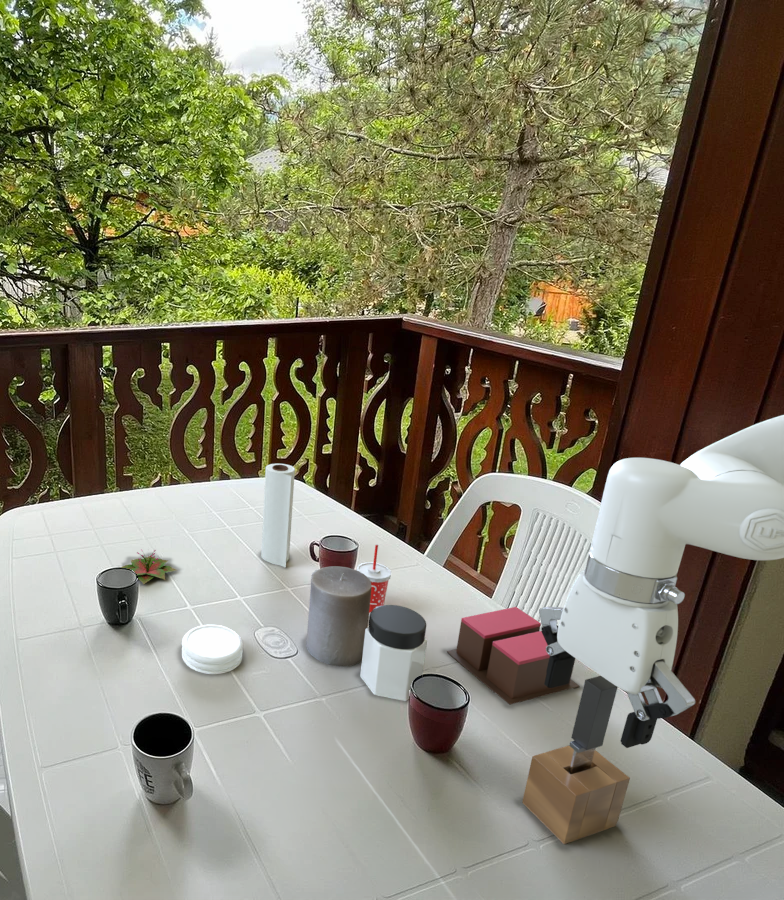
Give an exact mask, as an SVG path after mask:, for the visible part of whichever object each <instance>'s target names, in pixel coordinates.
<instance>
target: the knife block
mask: <svg viewBox="0 0 784 900" xmlns="http://www.w3.org/2000/svg"><path fill="white" fill-rule="evenodd" d="M569 745H570V744H569ZM569 745H565V746H561V747H559V748H555V749H552V750H549V751H545V752H542V753H538V754H535V755H532V757H531V761H530V766H529V770H528V775H527V779H526V784H525V787H524V788H525V789H524V792H523V797H522V804H523V805H524V806H525V807H526V808H527V809H528V810H529V811H530V812H531V813H532V814H533V815H534V816H535V817H536V818H537V819H538V820H539V822H541V824H543V825H544V826H545V827H546V828H547V829H548V830H549V831H550V832H551V833H552V834H553V835H554V836H555V837H556V838H557V839H558V840H559V842H561V843H562V845H566V844H569V843H571V842H575V841H578V840H580V839H584V838H586V837H589V836H592V835H595V834H598V833H601V832H603V831H606V830H608V829H611V828H614V827H617V826H618V823H619V819H620V815H621V811H622V809H623V805H624V801H625V797H626V793H627V790H628V787H629V783H630V781H631V778H630V777H629V776H628V775H627V774H625V772H623V771H622V770H621V769H620V768H618V767H617V766H616V765H615V764H613V763H612V762H611V761H610V760H608V759H607V758H606V757H604V755H602V754H601V753H599V752H598V751H597V750H596V749H595V752H594V755H593V759H592V763H591V767H590V769H587V770H584V771H581V772H578V773H575V774H570V773H569V768H570V764H571V760H572V756H573V752H574V749H573V748H571V747H570V746H569Z"/></svg>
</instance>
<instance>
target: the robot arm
mask: <svg viewBox="0 0 784 900" xmlns="http://www.w3.org/2000/svg"><path fill="white" fill-rule="evenodd" d="M605 481H606V482H605V484H604V489H603V493H602V497H601V500H600V501H601V502H600V505H599V509H598V514H597V517H596V518H597V519H596V523H595V527H594V531H593V535H592V540H591V543H590V548H589V551H588V557H587V560H586V565H585V569H583V570H582V571H580V572H579V574H578V576H577V577H576V579H575V581H574V582H573V584H572V585H571V589H570V591H569V592H568V595H567V598H566V601H565V603H564V606H563V607H559V606H545V607H540V608H539V609H538V614H539V618H540V623H541V625H542V627H541V628H540V631H542V634H543V636H544V638H545V641H546V643H547V646H546V652H547V653H548V654H549V655H550V657H549V662H548V666H547V670H546V673H547V674H546V678H545V682H544V685H545V686H547V687H548V688H554V687H558V686H562V685H566V684H568V683H569V681H570V677H571V678H572V676H571V673H572V674H573V671H572V669H573V670H574V667H573V665H574V666H575V663H574V661H575V662H576V660H577V661H578V662H580V663H581V664H583V665H584V666H586V667H587V668H589V669H590V670H592V671H593V672H595V673H596V674H598V676H602V677H604V678H605V679H606V680H608V681H609V682H611V683H612V684H614V685H615V686H617V687H618V688H617V689H620V690H622V691H623V692H625V693H626V694H627V698H628V699H629V702H630V704H631V706H632V710H633V711H631V712H629V713H628V714H627V715H626V720H625V723H624V727H623V730H622V734H621V738H620V743H621V745H622V746H623V747H624V748H625V749H628V748H632V747H635V746H640V745H646V744H648V743H649V742H650V741H651V740H652V738H653V735H654V731H655V728H656V724H657V721H658V720H660V719H667V718H670V717H673V716H677V715H680V714H682V713H683V712H684V711H686V710H688V709H689V708H691V707H693V706H694V705H695V704H696V699H695V697H694V696H693V695H692V694H691V693H690V691H689V690H688V689H687V688H686V687H685V686H684V684H683V683H682V682H681V681H680V679H679V678H678V677H677V676H676V675H675V673H674V671H672V669H673V664H674V659H675V655H676V650H677V643H678V634H679V632H678V631H679V611H678V609H679V608H678V605H679V604H681V603H682V602H683V601H684V599H685V596H686V594H685V592H683V591H681V590H680V589H679V588H678V587H676V584H677V581H678V576H677V575H678V572H679V568H680V565H681V561H682V558H683V554H684V552H685V547H686V545H690V546H694V547H699V548H702V549H705V550H709V551H713V552H716V553H718V554H719V553H721V554H724V555H727V556H730V557H736V558H739V559H743V560H745V559H746V560H753V561H774V560H780V559H784V414H781V415H778V416H775V417H772V418H769V419H766V420H763V421H760V422H757V423H755V424H753V425H750V426H748V427H746V428H743V429H741V430H738V431H737V432H735V433H733V434H731V435H727V436H726V437H724V438H722V439H720V440H718V441H717V440H716V441H715V442H713V443H711V444H709V445H707V446H705V447H703V448H702V449H699V450H697V451H696V452H694V453H693V454H691V455H690V456H688V458H686V459H685V460H683V461H682V462H681V463H680V464H678V463H676V462H675V463H674V462H672V461H667V460H663V459H658V458H651V457H628V458H627V457H626V458H622V459H619V460H618V461H616V462H614V463H613V465H612V466H611V467H610V468H609V470H608V473H607V477H606V480H605ZM558 621H559V622H558ZM575 658H576V659H575ZM658 689H662V690H663V692H665V693H666V695H667V700H666V701H663V700H662V697H661V695H660V692H659V690H658ZM643 693H644V696H645V698H644V696H643ZM645 699H646V701H647V703H648V704H647V703H646V701H645Z"/></svg>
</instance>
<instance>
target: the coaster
mask: <svg viewBox="0 0 784 900" xmlns="http://www.w3.org/2000/svg"><path fill="white" fill-rule="evenodd" d="M243 648H244V644H243V640H242V637H241V636H240V635H239V634H238V633H237V632H236V631H234V630H233V629H231V628H229V627H227V626H224V625H220V624H203V625H198V626H196V627H193V628H191V629H190V630H188V631H187V632H186V633H185V634H184V635H183V637H182V640H181V657H182V661H183V663H184V664H185V665H186V666H187V667H189V668H190V669H191V670H193V671H195V672H198V673H201V674H207V675H220V674H226V673H228V672H231V671H233V670H234V669H236V668H237V667H239V666H240V664H241V663H242V661H243V654H244V653H243V651H244V650H243Z"/></svg>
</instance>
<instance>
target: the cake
mask: <svg viewBox="0 0 784 900" xmlns="http://www.w3.org/2000/svg"><path fill="white" fill-rule="evenodd" d="M460 620H461V621H460V626H459V632H458V638H457V644H456V648H455V649H454V648H453V649H449V650H446V653H447V654H448V655H449V656H450V657H452V658H453V660H455V661H456V662H458V664H460V665H461V666H462V667H463V668H464V669H466V671H468V672H469V673H470V674H471V675H472V676H474V677H475V678H476V679H478V680H479V682H481V683H482V684H483V686H485V687H486V688H488V689H489V690H491V692H492V693H494V694H496V695H497V696H499V698H501V699H502V701H504V702H505V703H507V704H508V705H513V704H514V705H515V704H517V703H522V702H525V701H530V700H534V699H537V698H541V697H544V696H548V695H552V694H556V693H560V692H564V691H569V690H571V689H574V690H575V689H579V688H580V687H581V686H580V685H579V684H578V683H577V682H575V680H572V675H573V671H574V666H575V663H576V660H577V659H576V658H575V661H574V665H573V669H572V673H571V677H570V681H569V683H568V684H566V685H562V686H558V687H554V688H548V687H547V686H545V685H544V682H545V678H546V674H547V673H546V670H547V666H548V662H549V657H550V655H549V654H548V653H547V652H546V646H547V643H546V641H545V638H544V636H543V634H542V631H541V625H542V624H541V621H540V622H539V621H538V619H537V620H536V619H535V618H534V617H532V616H531V615H529V614H528V613H526V612H525V611H524V610H522V609H520V608H519V607H517V606H513V607H508V608H503V609H497V610H494V611H488V612H484V613H479V614H473V615H469V616H464V617H461V619H460Z"/></svg>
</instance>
